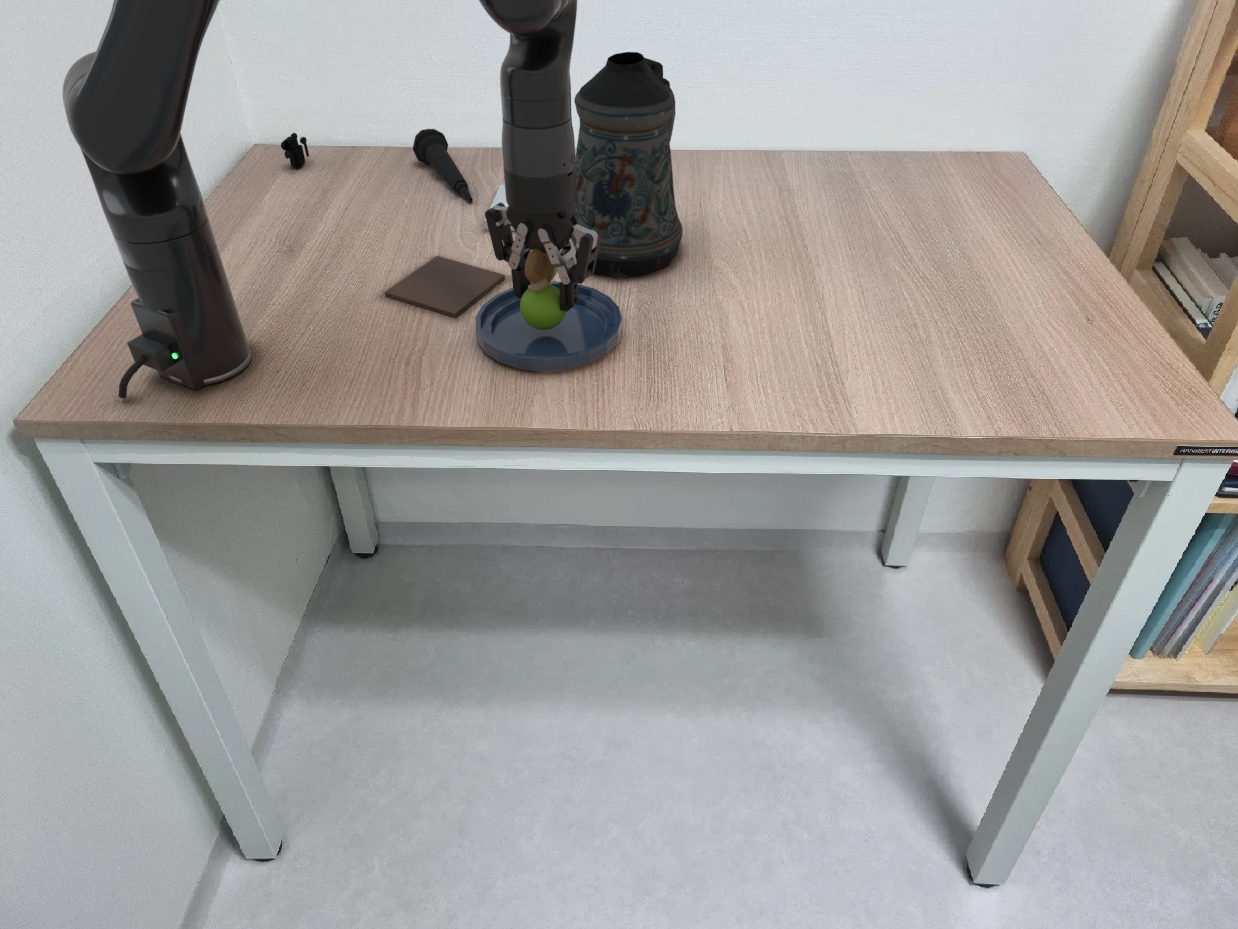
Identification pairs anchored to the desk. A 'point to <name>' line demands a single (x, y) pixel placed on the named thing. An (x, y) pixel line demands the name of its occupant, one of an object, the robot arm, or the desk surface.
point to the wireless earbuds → (295, 150)
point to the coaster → (445, 286)
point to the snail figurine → (541, 293)
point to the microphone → (440, 159)
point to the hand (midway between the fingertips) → (545, 300)
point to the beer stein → (627, 167)
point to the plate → (549, 332)
